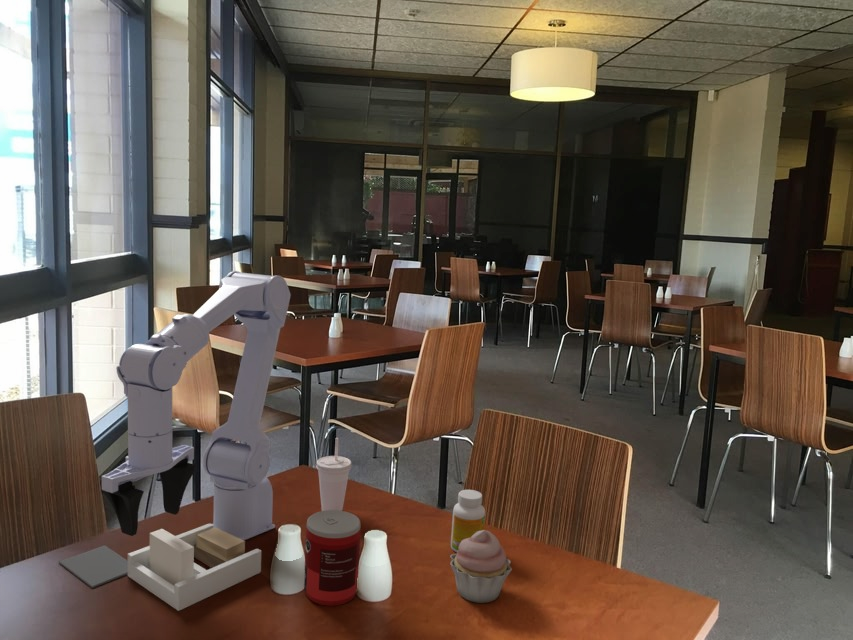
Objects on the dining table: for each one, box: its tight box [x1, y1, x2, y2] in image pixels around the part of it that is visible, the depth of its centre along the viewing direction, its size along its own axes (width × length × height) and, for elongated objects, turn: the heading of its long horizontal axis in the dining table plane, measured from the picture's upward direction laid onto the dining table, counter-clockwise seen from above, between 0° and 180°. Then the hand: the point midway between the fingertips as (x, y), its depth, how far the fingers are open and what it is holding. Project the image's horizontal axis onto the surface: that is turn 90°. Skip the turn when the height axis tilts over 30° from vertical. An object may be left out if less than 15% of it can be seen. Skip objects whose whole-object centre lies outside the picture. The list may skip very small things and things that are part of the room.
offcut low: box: [194, 544, 243, 569], centre depth 105 cm, size 4×9×2 cm, turn 51°
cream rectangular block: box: [149, 528, 195, 585], centre depth 98 cm, size 2×8×7 cm, turn 52°
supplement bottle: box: [450, 489, 486, 554], centre depth 114 cm, size 5×5×10 cm
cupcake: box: [449, 529, 513, 604], centre depth 101 cm, size 9×9×10 cm
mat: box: [58, 545, 128, 589], centre depth 102 cm, size 7×10×1 cm
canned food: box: [303, 510, 362, 607], centre depth 99 cm, size 8×8×11 cm
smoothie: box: [315, 437, 352, 511], centre depth 125 cm, size 6×6×14 cm
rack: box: [127, 522, 262, 612], centre depth 102 cm, size 14×13×4 cm
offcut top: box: [197, 527, 246, 562], centre depth 105 cm, size 4×7×2 cm, turn 55°
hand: (151, 522), depth 96 cm, fingers open, 7 cm apart
